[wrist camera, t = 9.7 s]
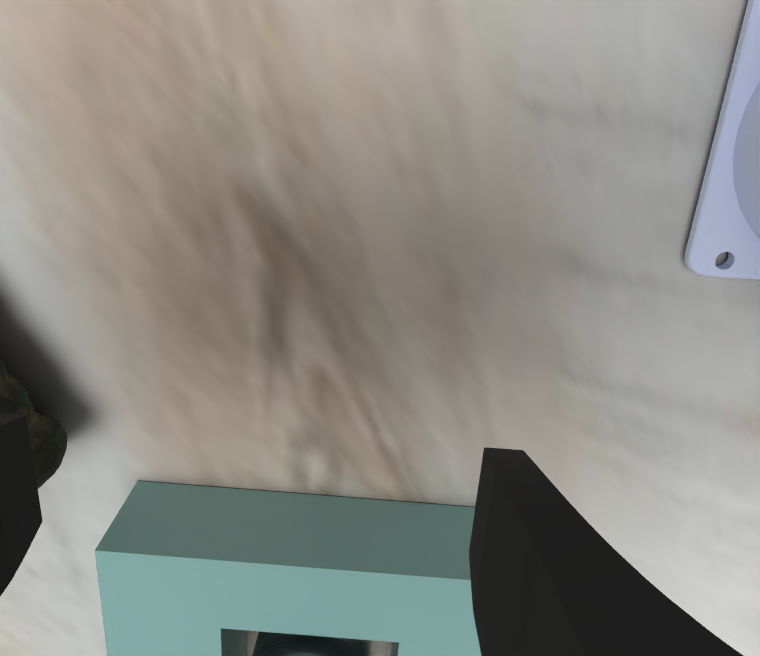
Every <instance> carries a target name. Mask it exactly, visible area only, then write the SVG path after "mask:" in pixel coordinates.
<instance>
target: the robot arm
mask: <svg viewBox="0 0 760 656" xmlns="http://www.w3.org/2000/svg"><path fill="white" fill-rule="evenodd" d="M722 252H728V259H727V261H726V262H725V263H723V264H722V265H718V266H716V265H715V260H716V258H717V256H718V255H719V254H721V253H722ZM684 261H685V264H686V266H687V267H688V268H689V269H690V270H691V271H692V272H694V273H695V274H697V275H701V276H712V277H725V278H738V279H751V280H760V0H748V4H747V8H746V12H745V16H744V20H743V24H742V28H741V32H740V36H739V40H738V44H737V48H736V52H735V56H734V60H733V64H732V68H731V72H730V76H729V80H728V84H727V88H726V92H725V96H724V100H723V104H722V108H721V112H720V116H719V120H718V124H717V128H716V132H715V136H714V140H713V144H712V148H711V152H710V156H709V160H708V164H707V168H706V172H705V176H704V180H703V184H702V188H701V192H700V196H699V200H698V204H697V207H696V211H695V215H694V219H693V223H692V227H691V231H690V235H689V239H688V243H687V247H686V251H685V259H684ZM41 523H42V515H41V509H40V502H39V496H38V489H37V482H36V476H35V469H34V462H33V456H32V449H31V442H30V436H29V429H28V423H27V416H26V415H25V414H11V413H0V596H1V595H2V593H3V592H4V590H5V589H6V587H7V586H8V584H9V583H10V581H11V580H12V578H13V577H14V575H15V573H16V571H17V569H18V568H19V566H20V564H21V562H22V560H23V558H24V557H25V555H26V553H27V551H28V549H29V547H30V545H31V543H32V541H33V539H34V537H35V535H36V533H37V531H38V529H39V527H40V525H41ZM469 562H470V578H471V591H472V604H473V614H474V619H475V625H476V630H477V635H478V640H479V646H480V651H481V656H743V655H741V654H740V653H739V652H737V651H736V650H734V649H733V648H732V647H730V646H729V645H727V644H726V643H725V642H723V641H722V640H721V639H719V638H718V637H717V636H715V635H714V634H713V633H711V632H710V631H709V630H707V629H706V628H705V627H704V626H702V625H701V624H700V623H699V622H697V621H696V620H695V619H694V618H692V617H691V616H690V615H689V614H687V613H686V612H685V611H684V610H682V609H681V608H680V607H679V606H677V605H676V604H675V603H674V602H672V601H671V600H670V599H669V598H667V597H666V596H665V595H664V594H663V593H662V592H660V591H659V590H658V589H657V588H656V587H655V586H653V585H652V584H651V583H650V582H649V581H648V580H647V579H646V578H644V577H643V576H642V575H641V574H640V573H639V572H638V571H637V570H636V569H635V568H634V567H633V566H632V565H631V564H629V563H628V562H627V561H626V560H625V559H624V558H623V557H622V556H621V555H620V554H619V553H618V552H617V551H616V550H614V549H613V548H612V547H611V546H610V545H609V544H608V543H607V542H606V541H605V540H604V539H603V538H602V537H601V536H600V535H599V534H598V533H597V531H596V530H595V529H594V528H593V527H592V526H591V525H590V524H589V523H588V522H587V521H586V520H585V519H584V518H583V517H582V516H581V515H580V514H579V513H578V512H577V510H576V509H575V508H574V507H573V506H572V505H571V504H570V503H569V502H568V501H567V499H566V498H565V497H564V496H563V495H562V494H561V493H560V492H559V491H558V489H557V488H556V487H555V486H554V485H553V484H552V483H551V481H550V480H549V479H548V478H547V477H546V476H545V475H544V473H543V472H542V471H541V470H540V469H539V468H538V466H537V465H536V464H535V463H534V462H533V461H532V460H531V458H530V457H529V456H528V455H527V454H526V453H525V452H524V451H523V450H512V449H498V448H484V453H483V460H482V466H481V473H480V480H479V486H478V493H477V500H476V507H475V513H474V520H473V527H472V534H471V540H470V547H469Z"/></svg>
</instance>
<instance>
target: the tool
mask: <svg viewBox="0 0 760 656" xmlns="http://www.w3.org/2000/svg"><path fill="white" fill-rule="evenodd" d="M0 413H11V414H25V415H26V416H27V423H28V429H29V436H30V442H31V449H32V456H33V462H34V469H35V476H36V482H37V489H38V488H39V487H41V486H42V485H43V484H44V483H45V482H46V481H47V480H48V479H49V478H50V477H51V476H52V475H53V474H54V473H55V472H56V470H57V469H58V468H59V466H60V464H61V462H62V459H63V457H64V454H65V451H66V446H67V434H66V432H65V429H64V428H63V427H62V426H61V424H60V423H59V422H58V421H57V420H55V419H53V418H51V417H47V416H44V415H41V414H39V413H37V412H35V410H34V408H33V405H32V402H31V400H30V397H29V395H28V392H27V390H26V388H25V387H24V386H23V385H22V384H21V382H20V381H19V380H18V379H17V378H15V377H14V376H13V375H12V374H10V373H9V371H8V370H7V368H6V367H5V365H4V364H3V362H2V361H1V359H0Z"/></svg>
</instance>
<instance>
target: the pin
mask: <svg viewBox="0 0 760 656" xmlns="http://www.w3.org/2000/svg"><path fill="white" fill-rule="evenodd" d="M370 653H371V640H360V639H348V638H335V637H323V636H310V635H298V634H285V633H273V632H260V631H259V633H258V637H257V640H256V644H255V648H254V651H253V655H252V656H370Z"/></svg>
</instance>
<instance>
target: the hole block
mask: <svg viewBox="0 0 760 656" xmlns="http://www.w3.org/2000/svg"><path fill="white" fill-rule="evenodd" d="M474 513H475V507H464V506H451V505H439V504H426V503H413V502H400V501H387V500H375V499H362V498H349V497H336V496H324V495H311V494H298V493H285V492H273V491H260V490H247V489H234V488H222V487H209V486H196V485H183V484H171V483H158V482H145V481H137V483H136V485H135V486H134V488H133V490H132V491H131V493H130V494H129V496H128V498H127V499H126V501H125V503H124V504H123V506H122V507H121V509H120V511H119V512H118V514H117V516H116V517H115V519H114V520H113V522H112V524H111V525H110V527H109V529H108V530H107V532H106V533H105V535H104V537H103V538H102V540H101V541H100V543H99V545H98V546H97V548H96V550H95V555H96V564H97V572H98V581H99V589H100V597H101V606H102V614H103V623H104V631H105V639H106V648H107V656H246V630H248V631H260V632H273V633H285V634H298V635H310V636H323V637H335V638H348V639H360V640H373V641H386V642H392V650H391V656H481V651H480V646H479V640H478V635H477V630H476V625H475V619H474V614H473V604H472V591H471V578H470V562H469V547H470V540H471V534H472V527H473V520H474Z"/></svg>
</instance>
